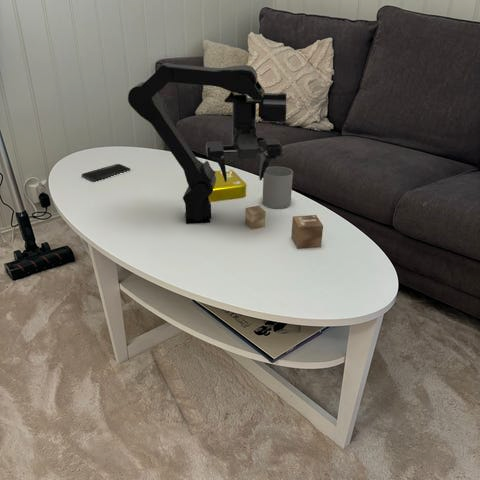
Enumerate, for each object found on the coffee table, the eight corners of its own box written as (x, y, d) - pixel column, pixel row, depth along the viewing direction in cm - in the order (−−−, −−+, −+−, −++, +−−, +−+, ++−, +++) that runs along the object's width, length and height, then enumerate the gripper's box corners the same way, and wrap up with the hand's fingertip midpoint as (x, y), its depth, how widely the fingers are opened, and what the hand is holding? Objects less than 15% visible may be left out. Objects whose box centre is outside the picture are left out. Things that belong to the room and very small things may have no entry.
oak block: (251, 230, 124) (251, 213, 121) (245, 224, 127) (245, 207, 124) (264, 228, 125) (265, 211, 123) (258, 222, 128) (259, 205, 126)
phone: (80, 174, 156) (118, 163, 166) (80, 177, 157) (118, 166, 166) (93, 180, 151) (131, 168, 161) (93, 183, 152) (132, 172, 162)
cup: (288, 210, 135) (291, 177, 130) (260, 207, 136) (261, 175, 132) (291, 199, 142) (294, 167, 137) (265, 196, 144) (266, 165, 139)
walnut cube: (323, 225, 113) (320, 247, 115) (316, 214, 118) (313, 236, 121) (299, 226, 112) (297, 248, 115) (292, 215, 117) (291, 237, 120)
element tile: (188, 186, 151) (187, 172, 149) (232, 181, 156) (232, 167, 153) (200, 204, 139) (200, 189, 136) (248, 198, 143) (248, 183, 141)
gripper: (209, 130, 107) (210, 194, 114) (289, 128, 109) (285, 190, 117) (204, 118, 116) (206, 177, 124) (278, 116, 119) (275, 174, 126)
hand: (243, 180), depth 122 cm, fingers open, 9 cm apart
